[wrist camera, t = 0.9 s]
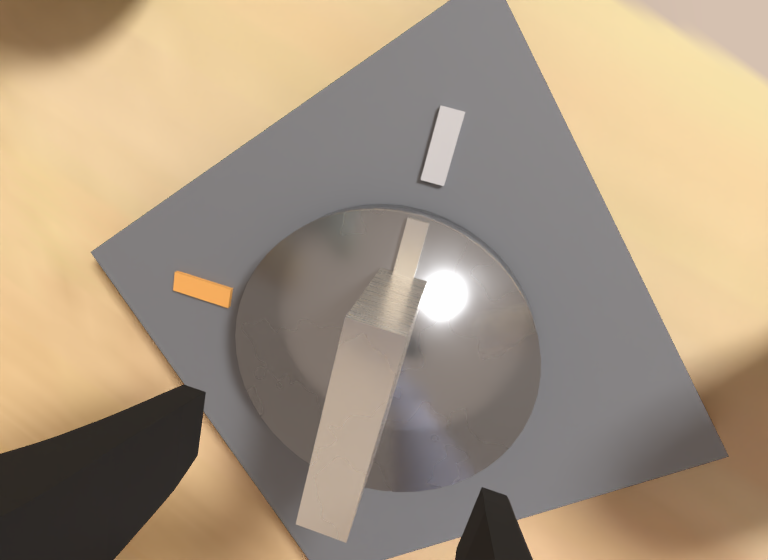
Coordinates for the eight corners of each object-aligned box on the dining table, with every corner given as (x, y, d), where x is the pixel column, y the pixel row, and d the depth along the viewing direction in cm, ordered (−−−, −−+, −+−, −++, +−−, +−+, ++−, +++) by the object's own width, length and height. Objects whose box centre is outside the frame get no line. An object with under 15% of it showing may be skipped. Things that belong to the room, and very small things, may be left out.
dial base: (710, 431, 19) (731, 460, 17) (331, 552, 24) (320, 582, 23) (491, -16, 16) (491, -31, 14) (116, 243, 21) (86, 253, 20)
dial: (482, 507, 20) (480, 645, 15) (232, 419, 21) (148, 519, 16) (586, 256, 16) (633, 322, 11) (273, 167, 17) (180, 187, 12)
